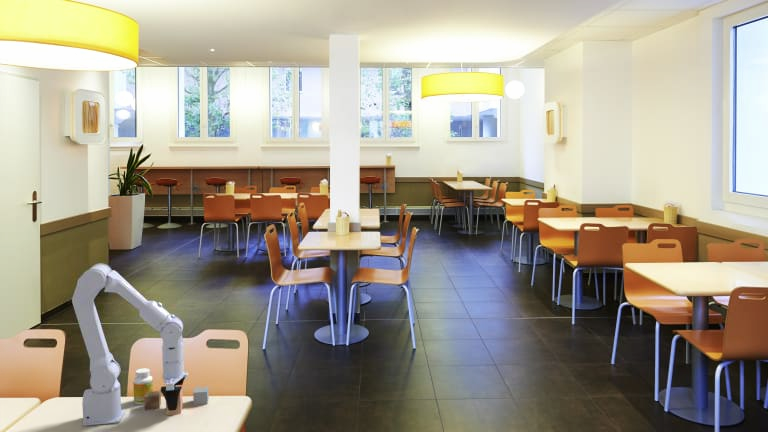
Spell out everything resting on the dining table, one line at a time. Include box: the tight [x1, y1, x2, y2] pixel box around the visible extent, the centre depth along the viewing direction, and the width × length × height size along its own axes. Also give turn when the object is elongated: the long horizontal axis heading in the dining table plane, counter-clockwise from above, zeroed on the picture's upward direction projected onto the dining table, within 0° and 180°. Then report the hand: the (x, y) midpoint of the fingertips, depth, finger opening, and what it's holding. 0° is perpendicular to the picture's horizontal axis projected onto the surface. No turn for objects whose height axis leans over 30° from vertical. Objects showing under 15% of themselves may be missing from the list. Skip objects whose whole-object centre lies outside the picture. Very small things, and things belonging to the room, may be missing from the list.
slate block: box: [192, 386, 209, 406], centre depth 170 cm, size 4×4×4 cm
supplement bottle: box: [132, 367, 154, 405], centre depth 170 cm, size 5×5×10 cm
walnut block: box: [144, 390, 162, 411], centre depth 166 cm, size 4×4×4 cm
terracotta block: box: [165, 385, 184, 416], centre depth 163 cm, size 4×4×7 cm
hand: (174, 404), depth 163 cm, fingers open, 7 cm apart
